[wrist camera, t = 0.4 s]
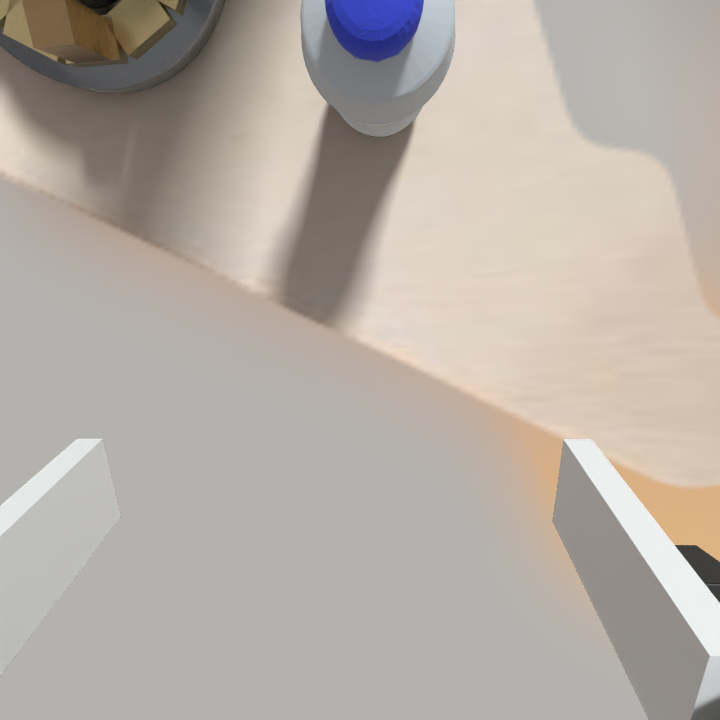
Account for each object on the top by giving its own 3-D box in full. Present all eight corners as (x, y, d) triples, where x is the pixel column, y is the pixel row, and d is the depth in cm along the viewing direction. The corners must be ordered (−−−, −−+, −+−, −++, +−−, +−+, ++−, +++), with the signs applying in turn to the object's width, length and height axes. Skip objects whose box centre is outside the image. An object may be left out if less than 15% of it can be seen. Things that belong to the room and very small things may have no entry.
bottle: (341, 150, 36) (297, 123, 17) (322, 45, 34) (246, -118, 15) (434, 131, 35) (493, 80, 17) (420, 22, 33) (470, -178, 14)
